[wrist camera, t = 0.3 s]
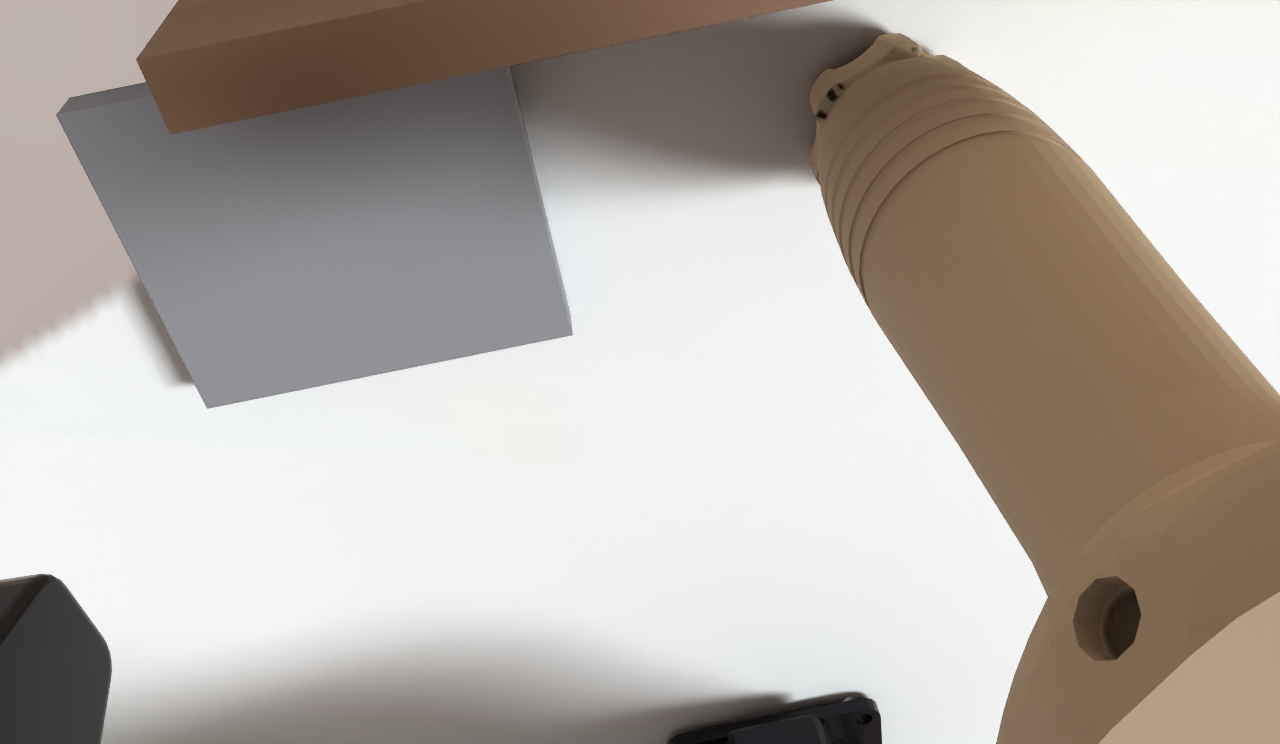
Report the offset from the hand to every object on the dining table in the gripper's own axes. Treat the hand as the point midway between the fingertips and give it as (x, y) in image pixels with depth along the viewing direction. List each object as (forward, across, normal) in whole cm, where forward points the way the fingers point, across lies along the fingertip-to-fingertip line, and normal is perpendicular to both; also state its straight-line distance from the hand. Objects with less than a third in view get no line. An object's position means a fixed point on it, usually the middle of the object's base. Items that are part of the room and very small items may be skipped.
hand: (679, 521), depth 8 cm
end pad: (+14, +6, +4) cm, 16 cm away
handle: (+15, -4, +4) cm, 16 cm away
